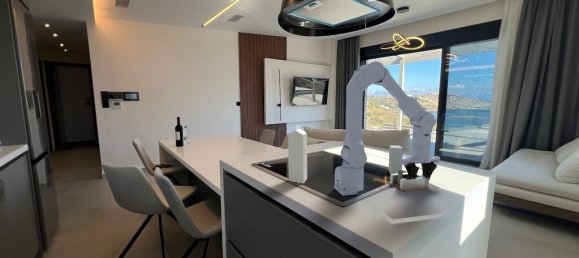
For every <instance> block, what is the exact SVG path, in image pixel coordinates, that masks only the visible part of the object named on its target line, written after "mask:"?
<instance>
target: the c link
mask: <svg viewBox="0 0 579 258" xmlns="http://www.w3.org/2000/svg"><path fill="white" fill-rule="evenodd" d="M389 175H390V176H389V183H390V184H392V185H395V184H398V173H397V174H390V173H389ZM428 180H429V178H428V177H425V176H423V175H422V174H421V173H417V177H416V178H409V176H408V173H407V172H403V174H402V179H400V189H401V190H402V191H403V190H413V189H423V188H428ZM429 181H430V180H429ZM390 184H389V185H390ZM392 185H391V186H392ZM401 190H400V191H401ZM402 191H401V192H402Z"/></svg>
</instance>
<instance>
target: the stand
mask: <svg viewBox="0 0 579 258" xmlns="http://www.w3.org/2000/svg"><path fill="white" fill-rule="evenodd" d="M403 171H404V170H403V169H402V170H398V184H395V185H392V184H390V182H387V184H388V185H390V186H391V187H393V188H395V189H397V190H398V191H401V192H403V193H404V192H407V193H408V192H415V191H416V192H417V191H425V190H434V189H436V190H437V189H440V187H439V186H436V185H434V184H432V183H430V182H429V183H428V188H423V189H413V190H403V191H402V190H401V189H400V179H402V174H403V173H404V172H403Z"/></svg>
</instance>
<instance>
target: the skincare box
mask: <svg viewBox="0 0 579 258" xmlns="http://www.w3.org/2000/svg"><path fill="white" fill-rule="evenodd" d="M388 149H389V151H388V172H389V175H390V174H397V173H398V170H403V165H402V164H400V162H401V159H403V158H404V157H403V155H404V147H402V146H401V145H391V144H390V145H389V148H388Z"/></svg>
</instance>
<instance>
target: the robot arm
mask: <svg viewBox="0 0 579 258" xmlns="http://www.w3.org/2000/svg"><path fill="white" fill-rule="evenodd" d="M371 85H375V86H381V87H383V88H384V89H385V90H386V91H387V92H388V93H389V94H390V95H391V96H392V97H393V98H394V99H395V100H396V101H397V107H398V108H399V109H400V111H402V113H404V115H405V116H406V117H407V118H408V120H409V124H410V125H411V126H412V139H411V140H412V142H411V144H412V145H411V156H409V157H405V158H404V157H403V159H401V162H400V164H402V166H404V168H405V170H406V173H408V176H409V178H416V177H417V173H418V172H419V171H420V170H419V169H420V167H419V166H417V164H418V165H419V164H420V165H421V170H422V171H421V172H422V174H421V175H423V176H425V177H428V178H429V180H428V183H430V179H431V177H432V175H433V173H434V171H435V170H436V169H437V167H438V164H437V163H440V162H441V157H440V156H437V155H435V156H433V155H432V156H431V143H432V133H433V128H434V127H435V125H436V123H437V119H435V116H434V114H432V113H431V112H429V111H427V108H426V107H425V106H423V105H422V104H421V103H420V102H419V101H418V97H417V96H413V95H411V94H410V95H409V94H407V93H406V92H405V91H404V90H403V88H402V87H401V86H400V84H398V82H397V81H396V80H395V78H394V77H393V76H392V74H391V72H390V71H389V69H388V68H386V67H385V66H384V64H383V63H382V62H380V61H376V60H375V61H371V62H370V63H367V64H362V65H360V66H359V67H357V69H355V70H354V71H353V74H352V77H351V78H350V80H349V81H348V84H347V85H346V90H345V91H346V95H345V96H346V98H345V99H346V100H345V103H346V106H345V107H346V110H345V113H346V114H345V139H344V140H343V141H342V142H343V145H342V147H341V151H340V157H341V159H342V163H341V164H342V165H340V166H337V167H335V169H334V186H333V189H335V190H336V191H337V192H338V193H339V194H340V195H341V196H351V195H361V193H360V192H361V191H363V190H364V174H365V172H364V169H365V164H367V160H368V156H367V153H366V151H365V144H364V142H363V137H362V136H363V96H364V95H363V92H364V91H365V90H367V89H368V88H369V87H370V86H371ZM418 174H419V173H418Z"/></svg>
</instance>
